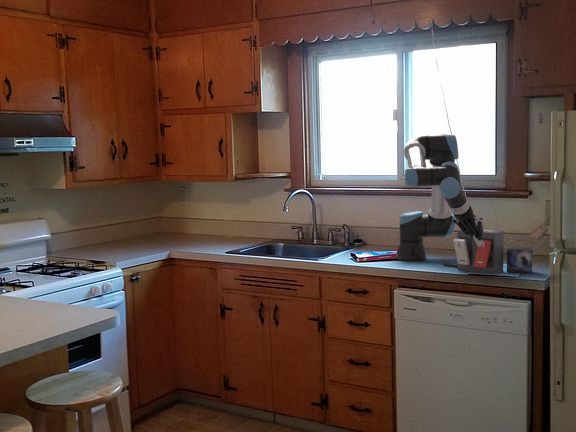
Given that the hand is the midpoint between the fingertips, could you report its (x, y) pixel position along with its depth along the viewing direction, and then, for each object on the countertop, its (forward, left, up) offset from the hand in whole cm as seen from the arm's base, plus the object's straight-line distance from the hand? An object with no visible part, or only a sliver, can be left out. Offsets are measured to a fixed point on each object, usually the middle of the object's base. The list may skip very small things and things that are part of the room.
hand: (480, 244), depth 279 cm
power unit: (-10, +9, -14) cm, 19 cm away
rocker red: (0, 0, -10) cm, 10 cm away
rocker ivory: (-10, +5, -10) cm, 15 cm away
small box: (+10, +17, -14) cm, 24 cm away
